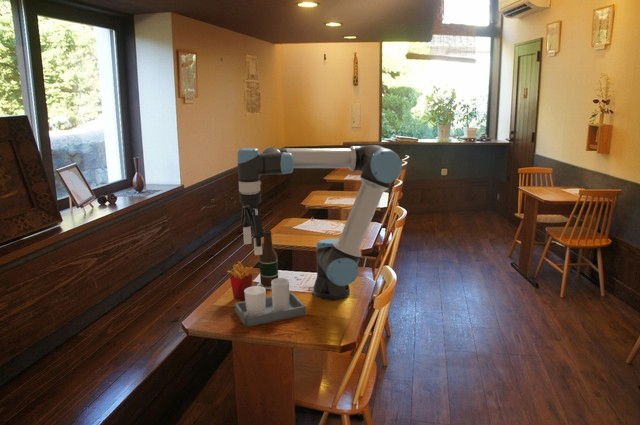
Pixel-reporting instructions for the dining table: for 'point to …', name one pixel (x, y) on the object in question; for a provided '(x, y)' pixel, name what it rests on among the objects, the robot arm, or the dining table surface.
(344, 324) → the dining table surface
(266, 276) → the beer bottle
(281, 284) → the mug
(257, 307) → the white cup
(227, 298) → the dining table surface
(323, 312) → the dining table surface
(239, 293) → the french fries
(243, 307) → the tray
